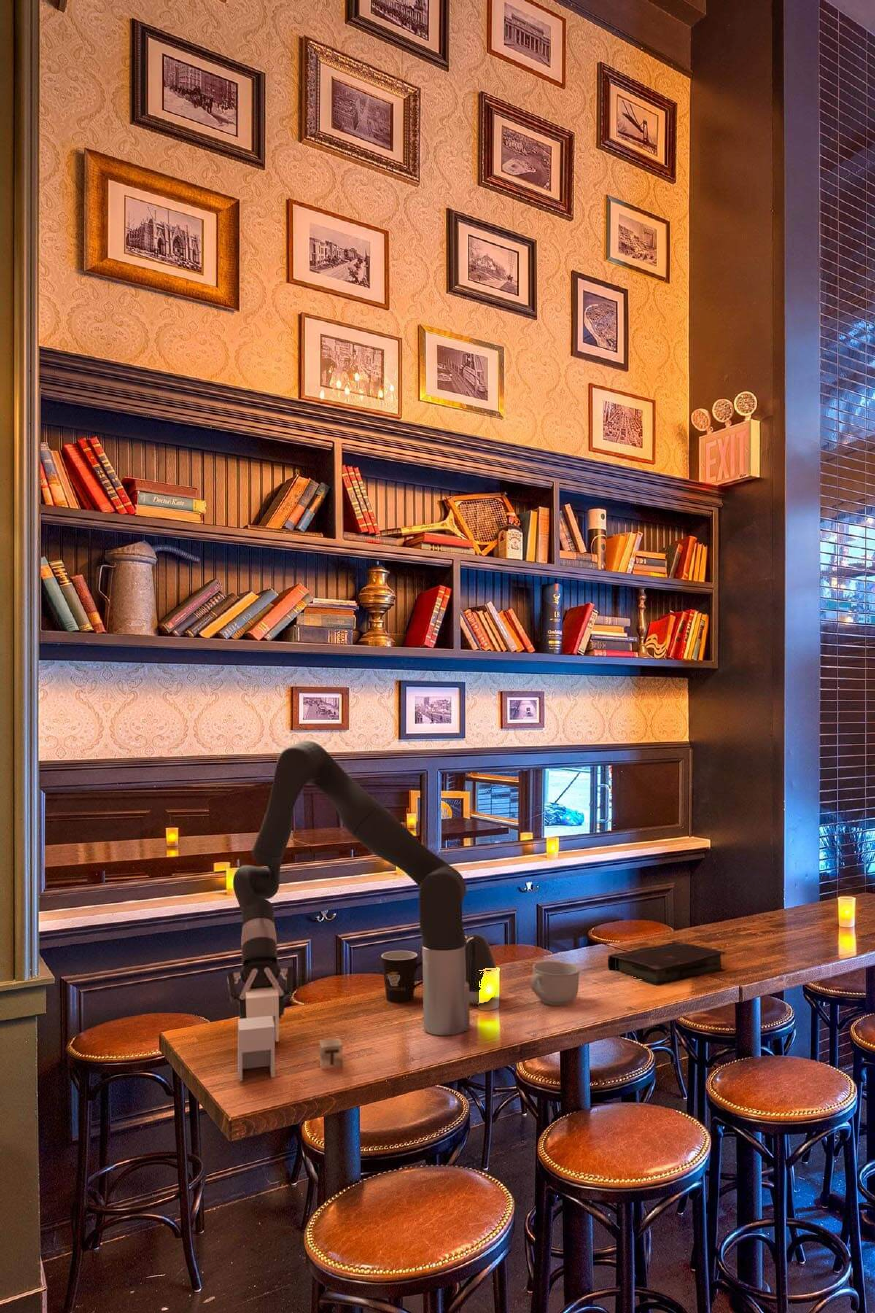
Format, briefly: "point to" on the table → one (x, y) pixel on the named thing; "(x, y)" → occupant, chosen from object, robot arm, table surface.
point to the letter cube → (330, 1053)
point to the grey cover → (256, 1044)
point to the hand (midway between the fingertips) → (262, 1018)
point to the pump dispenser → (476, 963)
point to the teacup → (555, 982)
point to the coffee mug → (400, 975)
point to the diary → (667, 962)
